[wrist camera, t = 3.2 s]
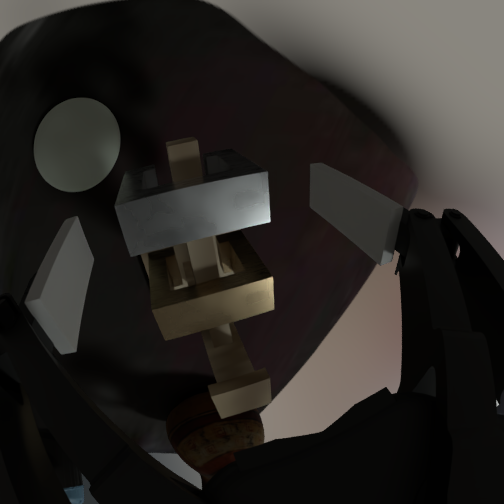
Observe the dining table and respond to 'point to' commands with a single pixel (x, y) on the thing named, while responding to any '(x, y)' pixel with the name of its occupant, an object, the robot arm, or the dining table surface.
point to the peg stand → (225, 336)
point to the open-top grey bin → (192, 203)
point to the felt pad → (77, 144)
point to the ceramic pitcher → (211, 434)
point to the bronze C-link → (209, 289)
